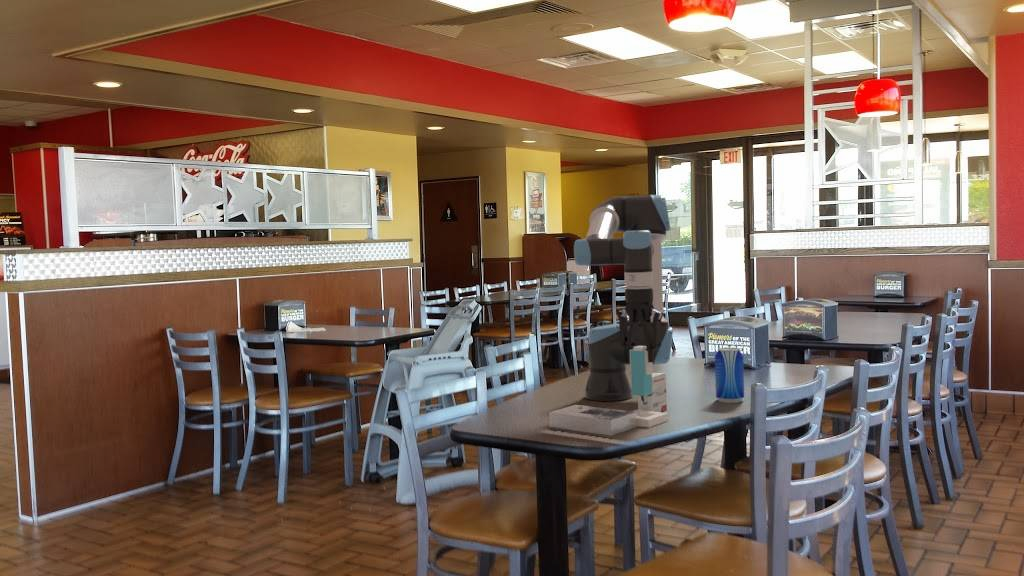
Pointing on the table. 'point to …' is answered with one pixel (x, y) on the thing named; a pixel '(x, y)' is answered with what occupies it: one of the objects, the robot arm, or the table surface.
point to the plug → (640, 373)
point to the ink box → (655, 395)
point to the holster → (650, 418)
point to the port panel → (593, 420)
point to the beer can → (729, 375)
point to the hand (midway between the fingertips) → (641, 373)
